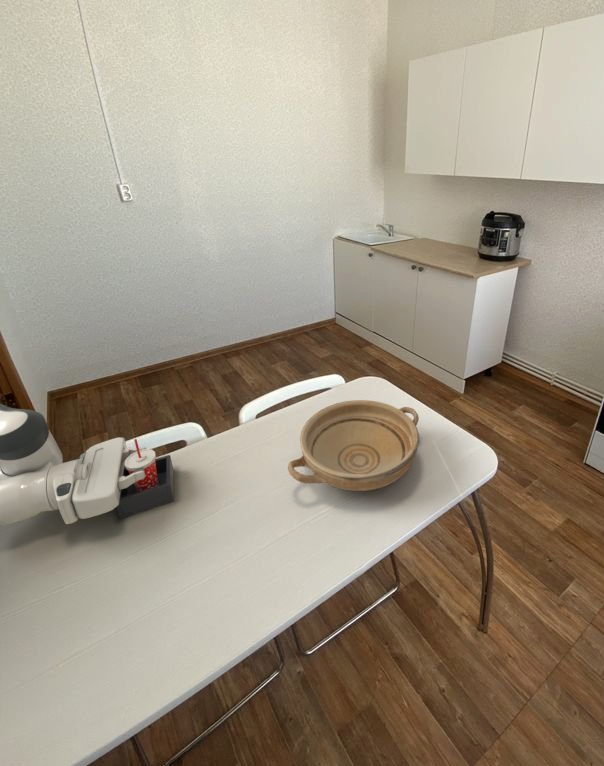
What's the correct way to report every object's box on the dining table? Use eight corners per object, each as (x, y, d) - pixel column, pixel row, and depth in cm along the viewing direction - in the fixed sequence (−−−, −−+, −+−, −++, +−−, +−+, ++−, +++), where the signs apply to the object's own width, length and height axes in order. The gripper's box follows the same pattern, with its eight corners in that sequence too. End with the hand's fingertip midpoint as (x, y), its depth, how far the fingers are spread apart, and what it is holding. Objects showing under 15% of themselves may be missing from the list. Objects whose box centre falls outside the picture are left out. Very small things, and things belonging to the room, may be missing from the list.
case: (120, 519, 82) (114, 501, 80) (125, 485, 91) (120, 468, 89) (174, 501, 86) (170, 484, 84) (173, 470, 95) (170, 454, 93)
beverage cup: (127, 494, 87) (112, 444, 82) (151, 476, 92) (139, 428, 87) (145, 503, 85) (131, 452, 80) (168, 484, 90) (157, 435, 85)
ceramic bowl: (326, 550, 75) (324, 511, 71) (266, 465, 96) (262, 433, 93) (453, 466, 95) (456, 432, 92) (380, 412, 117) (380, 383, 113)
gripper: (85, 462, 90) (150, 445, 96) (65, 531, 73) (146, 505, 79) (77, 440, 88) (145, 424, 94) (55, 506, 71) (139, 481, 76)
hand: (145, 461), depth 86 cm, fingers closed on beverage cup, 6 cm apart
